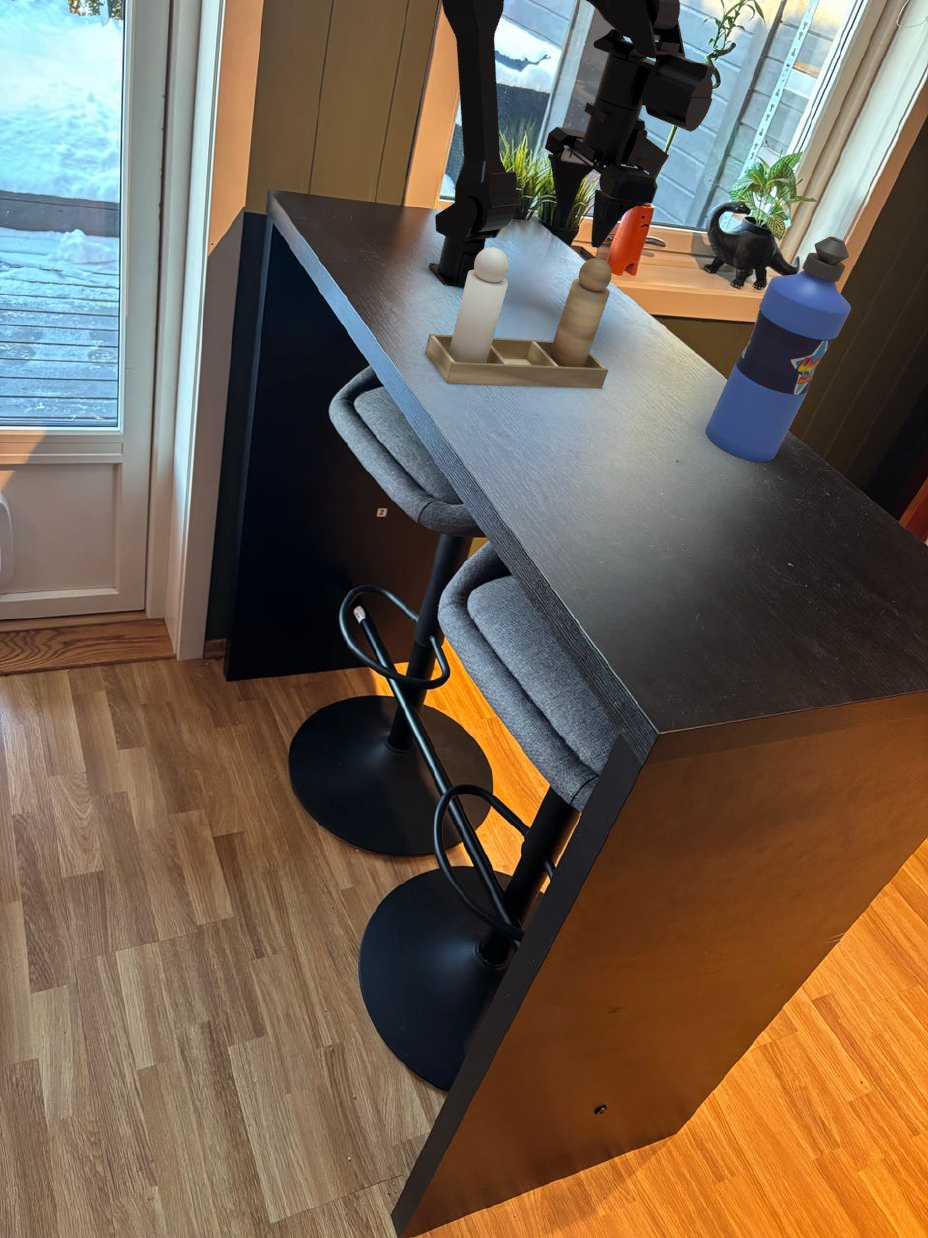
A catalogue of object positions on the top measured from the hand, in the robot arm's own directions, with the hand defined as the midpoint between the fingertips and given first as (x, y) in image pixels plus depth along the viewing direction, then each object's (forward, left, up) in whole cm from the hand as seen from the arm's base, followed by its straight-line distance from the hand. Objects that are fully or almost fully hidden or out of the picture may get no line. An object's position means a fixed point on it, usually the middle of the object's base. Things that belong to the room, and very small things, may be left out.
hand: (578, 233), depth 124 cm
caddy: (+15, -13, -13) cm, 24 cm away
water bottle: (+30, +12, -13) cm, 35 cm away
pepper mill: (+15, -6, -12) cm, 20 cm away
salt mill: (+15, -20, -12) cm, 28 cm away
